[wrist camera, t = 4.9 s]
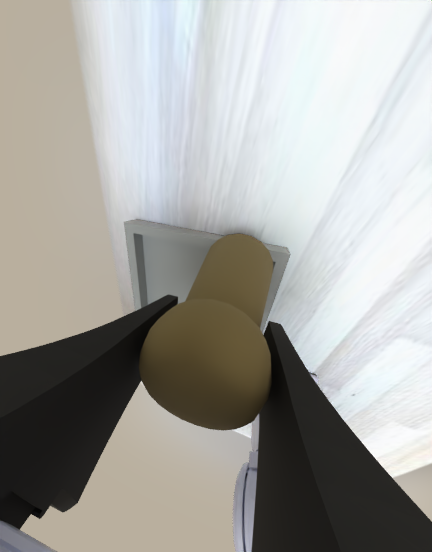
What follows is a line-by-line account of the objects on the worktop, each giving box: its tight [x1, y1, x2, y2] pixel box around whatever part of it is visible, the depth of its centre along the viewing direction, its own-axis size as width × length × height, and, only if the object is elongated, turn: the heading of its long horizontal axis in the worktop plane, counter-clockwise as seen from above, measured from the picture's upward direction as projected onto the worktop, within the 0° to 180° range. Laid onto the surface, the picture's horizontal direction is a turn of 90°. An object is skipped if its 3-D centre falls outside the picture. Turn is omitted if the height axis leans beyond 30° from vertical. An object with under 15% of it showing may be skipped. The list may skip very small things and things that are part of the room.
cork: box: [139, 234, 273, 430], centre depth 10 cm, size 6×6×11 cm
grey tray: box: [124, 219, 290, 332], centre depth 21 cm, size 17×17×2 cm
